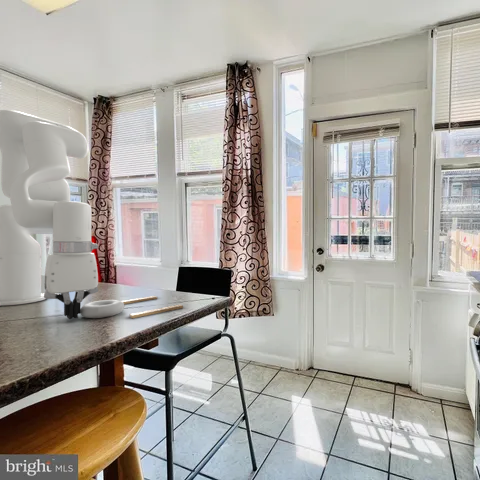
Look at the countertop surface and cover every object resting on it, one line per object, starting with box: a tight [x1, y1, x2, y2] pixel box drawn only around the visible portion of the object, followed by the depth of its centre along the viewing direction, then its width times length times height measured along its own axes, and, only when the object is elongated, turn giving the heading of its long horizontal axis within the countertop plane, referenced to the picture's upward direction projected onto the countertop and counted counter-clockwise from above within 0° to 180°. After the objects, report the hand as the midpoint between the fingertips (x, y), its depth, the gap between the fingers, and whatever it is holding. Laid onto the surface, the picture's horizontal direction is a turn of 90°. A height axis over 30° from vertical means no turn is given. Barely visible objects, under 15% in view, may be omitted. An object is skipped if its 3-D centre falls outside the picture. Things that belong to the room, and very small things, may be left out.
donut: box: [80, 299, 125, 319], centre depth 77 cm, size 10×4×10 cm
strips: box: [120, 295, 184, 319], centre depth 86 cm, size 20×14×1 cm
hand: (72, 317), depth 72 cm, fingers closed
